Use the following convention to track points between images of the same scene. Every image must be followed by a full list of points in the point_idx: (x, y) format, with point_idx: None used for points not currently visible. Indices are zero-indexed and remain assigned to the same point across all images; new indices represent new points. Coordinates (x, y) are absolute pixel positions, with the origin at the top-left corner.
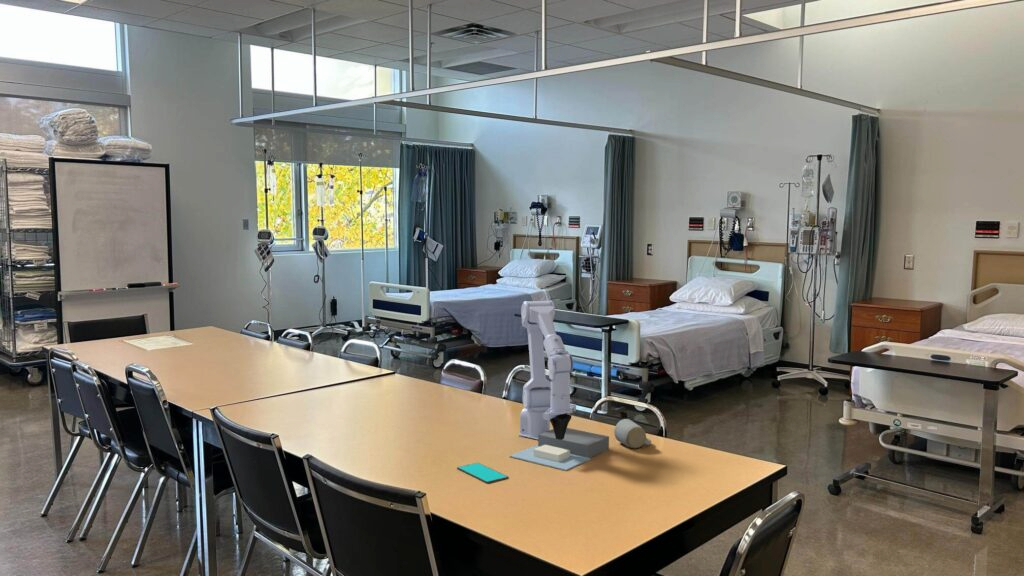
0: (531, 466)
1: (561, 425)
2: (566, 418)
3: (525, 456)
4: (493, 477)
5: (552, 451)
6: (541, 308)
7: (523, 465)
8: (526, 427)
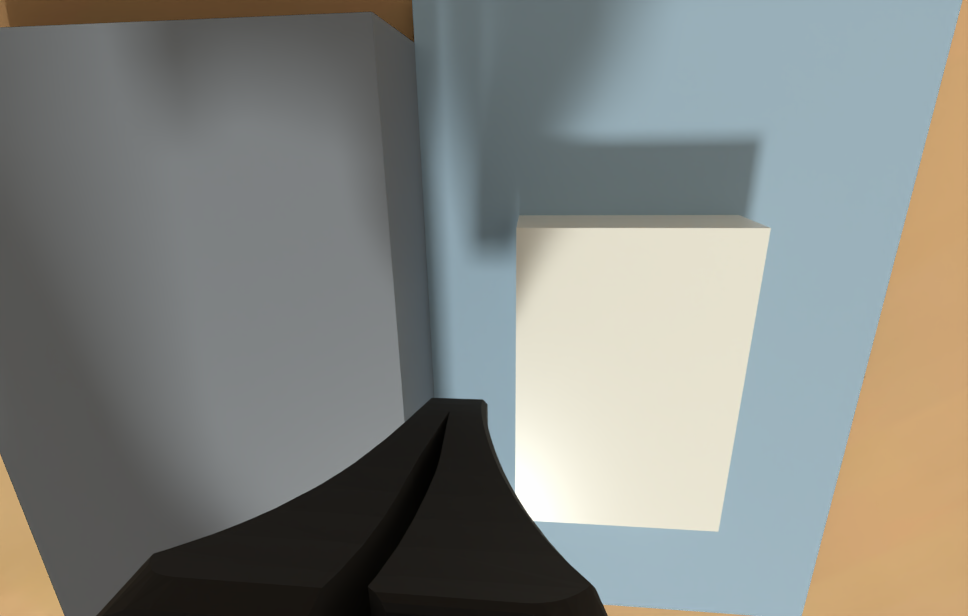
0: (955, 363)
1: (539, 529)
2: (416, 603)
3: (749, 525)
4: None
5: (679, 354)
6: None
7: (958, 431)
8: None
